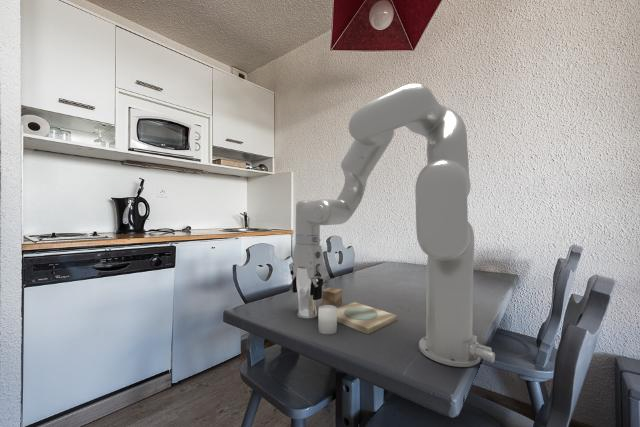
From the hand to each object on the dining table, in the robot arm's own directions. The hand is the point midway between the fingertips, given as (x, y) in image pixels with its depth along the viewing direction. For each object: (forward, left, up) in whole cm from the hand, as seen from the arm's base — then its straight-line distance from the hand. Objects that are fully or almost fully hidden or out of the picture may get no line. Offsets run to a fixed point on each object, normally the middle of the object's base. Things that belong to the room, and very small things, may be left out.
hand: (306, 295), depth 84 cm
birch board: (-13, -10, -6) cm, 18 cm away
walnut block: (+2, -13, -6) cm, 15 cm away
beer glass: (0, 0, -6) cm, 6 cm away
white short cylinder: (-12, +3, -6) cm, 14 cm away
